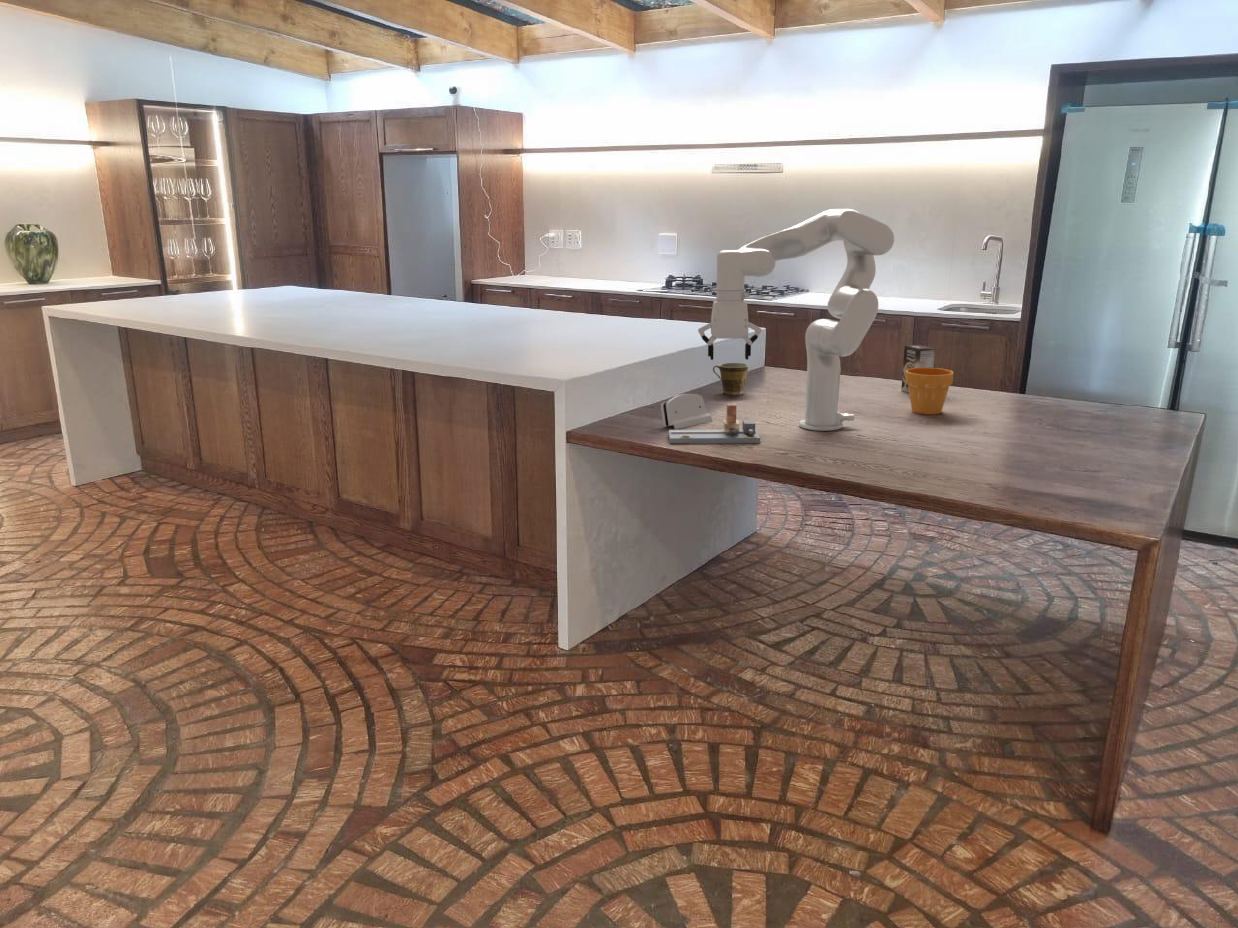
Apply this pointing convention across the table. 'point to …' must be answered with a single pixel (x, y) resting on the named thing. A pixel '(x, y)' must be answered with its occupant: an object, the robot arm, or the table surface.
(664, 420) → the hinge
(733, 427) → the block
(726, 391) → the ceramic cup
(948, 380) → the flower pot
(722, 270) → the robot arm
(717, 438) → the gauge board
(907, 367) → the coffee box
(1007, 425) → the table surface
